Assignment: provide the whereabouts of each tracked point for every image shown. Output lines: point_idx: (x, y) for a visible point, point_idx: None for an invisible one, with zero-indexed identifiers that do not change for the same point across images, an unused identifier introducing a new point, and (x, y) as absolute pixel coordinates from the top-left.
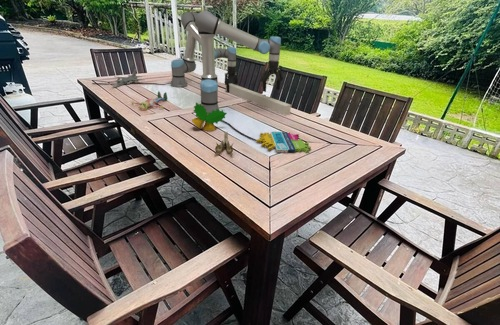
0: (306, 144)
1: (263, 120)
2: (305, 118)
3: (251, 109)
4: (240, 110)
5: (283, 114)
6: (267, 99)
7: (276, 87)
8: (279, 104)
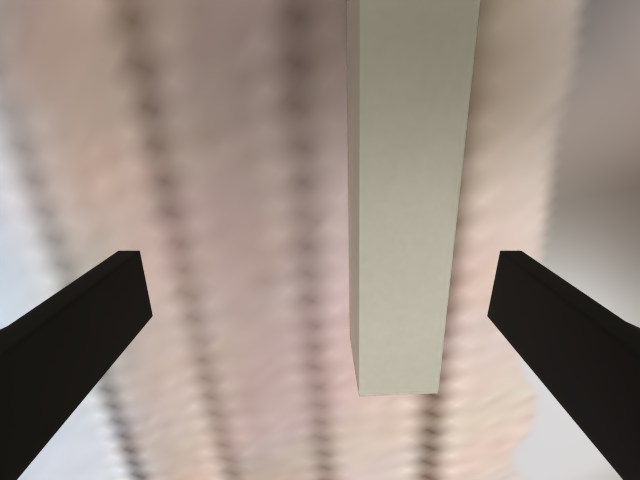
0: None
1: None
2: (436, 431)
3: (163, 71)
4: (23, 41)
5: (350, 330)
6: (359, 116)
7: (520, 265)
8: (358, 320)
